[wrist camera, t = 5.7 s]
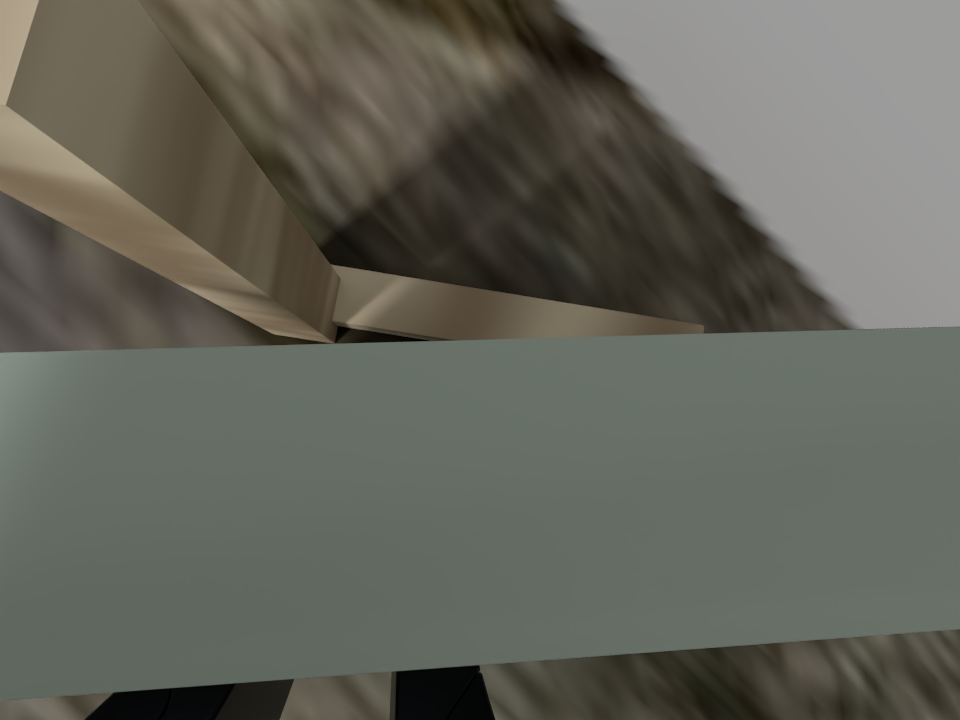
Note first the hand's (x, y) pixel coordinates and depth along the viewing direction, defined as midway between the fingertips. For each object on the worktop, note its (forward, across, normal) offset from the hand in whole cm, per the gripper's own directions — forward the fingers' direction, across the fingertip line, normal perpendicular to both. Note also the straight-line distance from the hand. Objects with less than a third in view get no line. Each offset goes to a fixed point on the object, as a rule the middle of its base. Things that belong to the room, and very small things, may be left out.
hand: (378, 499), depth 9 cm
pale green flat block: (+4, -2, +2) cm, 5 cm away
